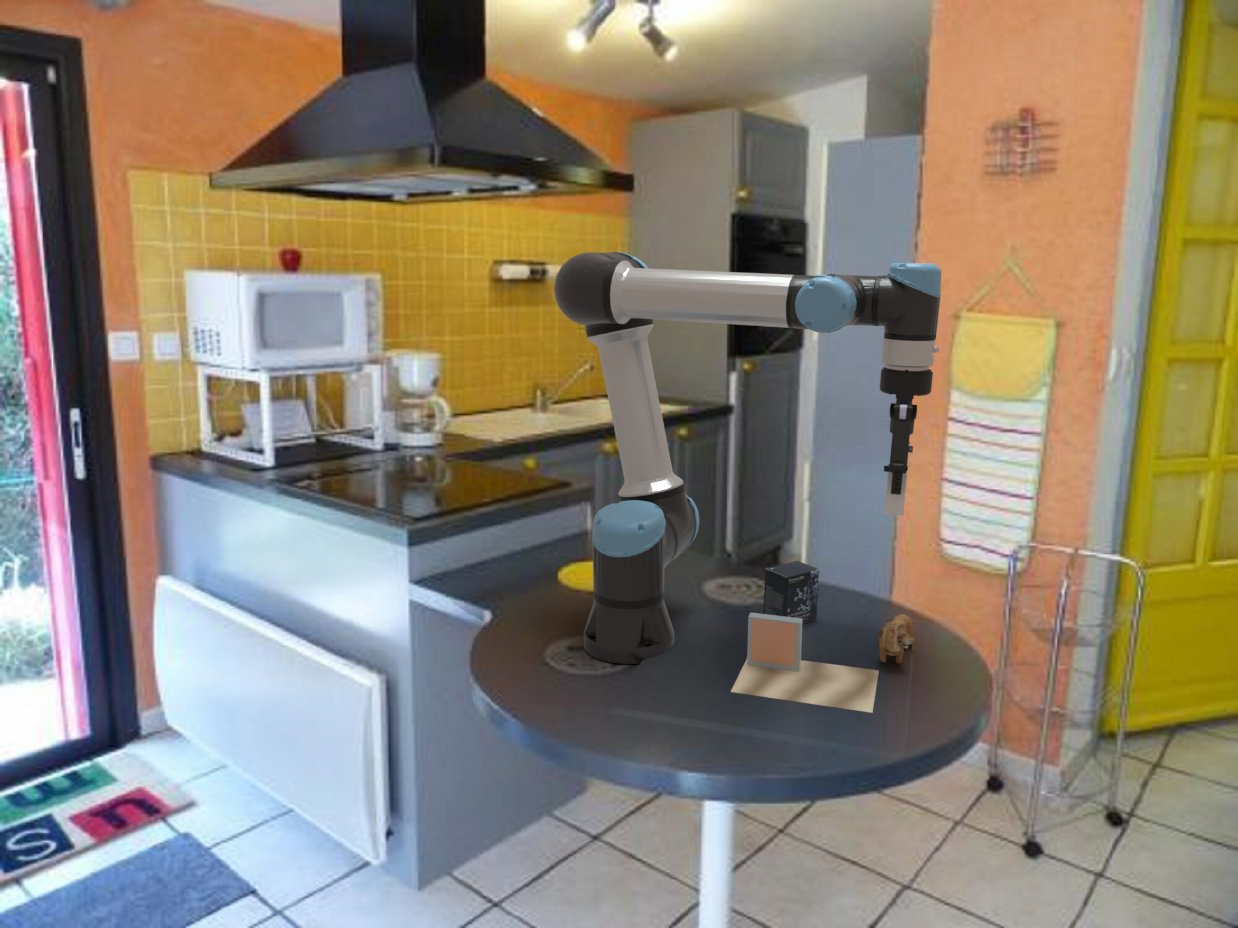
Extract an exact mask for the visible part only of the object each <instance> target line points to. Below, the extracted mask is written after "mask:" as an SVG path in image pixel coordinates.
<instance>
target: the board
mask: <svg viewBox="0 0 1238 928" xmlns="http://www.w3.org/2000/svg"><path fill="white" fill-rule="evenodd" d="M879 673H880V670H879V669H870V668H864V667H863V668H862V667H855V666H848V665H841V664H832V663H825V662H819V661H811V660H803V659H801V668H800V671H799V672H794V671H787V670H780V669H773V668H765V667H758V666H751V665H747V658H746V659H745V662H744V663H743V666H742V668H741V670H740V671H739V674H738V676H737V678H736V680H735V682H734V684H733V686H732V688H731V690H730V693H736V694H741V695H749V696H755V697H762V698H763V697H764V698H769V699H775V700H782V701H790V702H797V703H803V704H810V705H816V706H822V707H823V706H824V707H830V708H836V709H843V710H849V711H850V710H851V711H856V712H857V711H858V712H864V713H871V714H873V713H874V706H875V705H874V704H875V699H876V693H877V686H878V678H879Z"/></svg>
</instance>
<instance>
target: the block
mask: <svg viewBox="0 0 1238 928" xmlns="http://www.w3.org/2000/svg"><path fill="white" fill-rule="evenodd" d="M802 621H803V619H801V618H793V617H785V616H776V615H768V614H763V613H759V612H749V615H748V617H747V623H748V624H747V648H746V649H747V655H746V659H747V665H751V666H758V667H765V668H773V669H780V670H787V671H794V672H799V671H800V668H801V660H802V647H803V646H802V643H803V642H802V641H803V624H802Z"/></svg>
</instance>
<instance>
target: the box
mask: <svg viewBox="0 0 1238 928" xmlns="http://www.w3.org/2000/svg"><path fill="white" fill-rule="evenodd" d="M819 575H820V569H819V568H817V567H815V566H813V565H810V564H807V563H805V562H802V561H799V560H794V561H791V562H787V563H784V564H780V565H779V564H778V565H776V566H771V567H765V572H764V592H763V593H764V594H763V596H764V597H763V610H762V611H763V612H762V614H768V615H776V616H785V617H793V618H801V619H803V621H802V625H805V624H808V623H812V622H813V623H817V617H818V596H819V580H820V579H819Z"/></svg>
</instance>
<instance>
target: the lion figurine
mask: <svg viewBox="0 0 1238 928" xmlns="http://www.w3.org/2000/svg"><path fill="white" fill-rule="evenodd" d="M914 632H915V631H914V623H913V620H912V618H911V617H910V616H908V615H907V614H897V615H896V616H893V619H892V618H891V619H889V620H886V622H884V623H883V624H882V627H881V628H880V629H879V630H878V635H877V646H878V647H879V650H878V651H879V660H880V662H882V663H887V656H888V655H889V656H891V657H892V656H896V657H895V661H894V662H895V664H902V663H903V657H904V654H905V653H904V652H905V651H904V649H908V648H909V646H911V652H914V651H915V637H914Z"/></svg>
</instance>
